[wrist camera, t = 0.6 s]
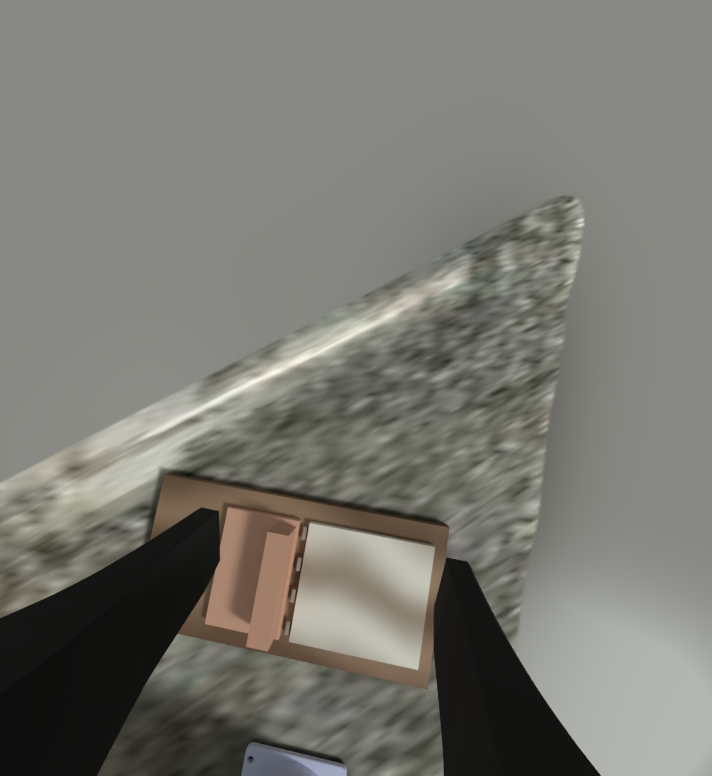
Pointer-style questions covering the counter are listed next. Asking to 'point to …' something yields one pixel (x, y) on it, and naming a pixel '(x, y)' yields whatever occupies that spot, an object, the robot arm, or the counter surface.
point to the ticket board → (334, 580)
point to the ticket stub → (253, 575)
